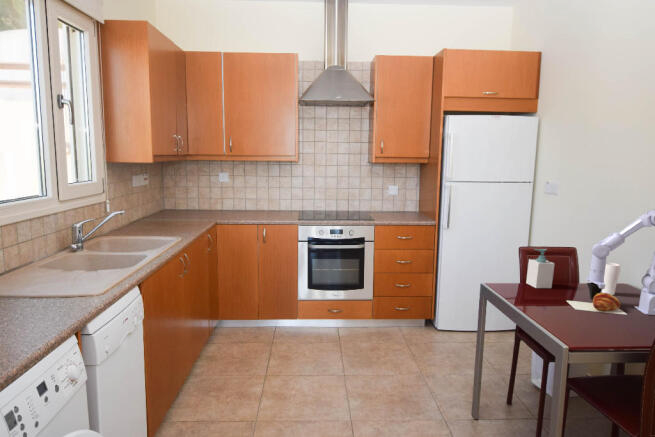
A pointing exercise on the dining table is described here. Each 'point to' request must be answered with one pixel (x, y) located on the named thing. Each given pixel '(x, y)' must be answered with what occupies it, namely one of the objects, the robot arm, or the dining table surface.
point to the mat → (592, 307)
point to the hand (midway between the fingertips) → (593, 299)
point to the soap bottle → (540, 271)
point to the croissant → (605, 302)
